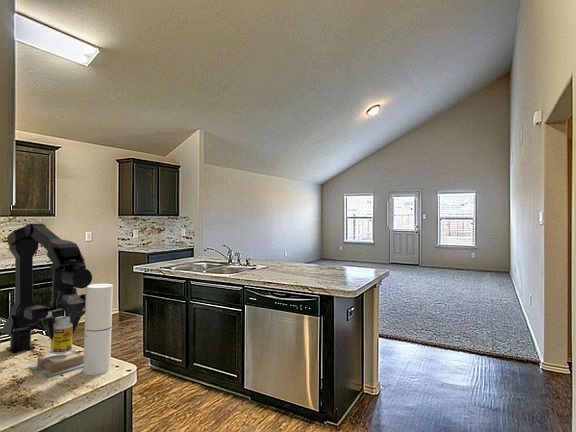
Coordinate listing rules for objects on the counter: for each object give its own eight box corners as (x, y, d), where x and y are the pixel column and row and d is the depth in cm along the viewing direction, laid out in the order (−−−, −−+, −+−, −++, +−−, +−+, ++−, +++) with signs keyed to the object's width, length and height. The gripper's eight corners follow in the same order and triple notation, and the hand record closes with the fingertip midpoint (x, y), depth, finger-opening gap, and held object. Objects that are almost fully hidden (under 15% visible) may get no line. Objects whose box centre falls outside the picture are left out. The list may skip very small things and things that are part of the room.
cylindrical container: (97, 376, 108) (100, 288, 108) (77, 372, 110) (80, 286, 111) (115, 367, 115) (118, 284, 115) (96, 364, 117) (99, 282, 117)
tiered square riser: (29, 367, 113) (29, 357, 113) (70, 356, 123) (71, 346, 123) (48, 378, 106) (49, 366, 106) (91, 364, 116) (91, 354, 116)
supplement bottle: (50, 356, 111) (51, 320, 111) (50, 350, 115) (51, 316, 116) (72, 352, 114) (73, 318, 114) (71, 347, 119) (72, 314, 119)
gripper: (42, 292, 103) (40, 350, 103) (107, 283, 118) (106, 334, 118) (23, 287, 109) (22, 342, 109) (88, 280, 124) (87, 327, 124)
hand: (61, 336), depth 115 cm, fingers closed on supplement bottle, 5 cm apart
